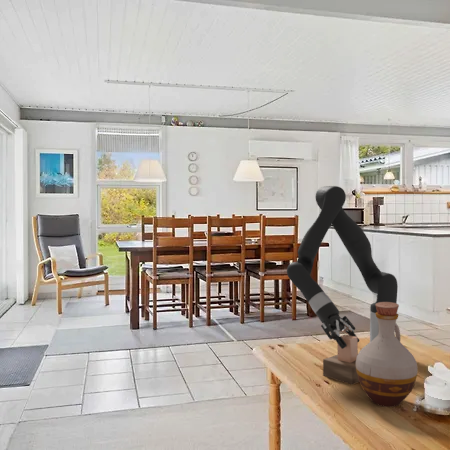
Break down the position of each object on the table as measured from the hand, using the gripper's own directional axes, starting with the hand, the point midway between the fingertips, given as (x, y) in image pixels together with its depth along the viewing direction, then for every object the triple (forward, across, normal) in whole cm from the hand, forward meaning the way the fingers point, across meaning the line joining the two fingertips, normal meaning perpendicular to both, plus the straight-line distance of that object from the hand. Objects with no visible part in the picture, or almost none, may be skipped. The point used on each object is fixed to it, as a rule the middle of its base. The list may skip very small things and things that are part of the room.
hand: (351, 344), depth 168 cm
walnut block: (+7, 0, +9) cm, 12 cm away
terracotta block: (+3, 0, +5) cm, 6 cm away
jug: (+21, -11, -5) cm, 25 cm away
